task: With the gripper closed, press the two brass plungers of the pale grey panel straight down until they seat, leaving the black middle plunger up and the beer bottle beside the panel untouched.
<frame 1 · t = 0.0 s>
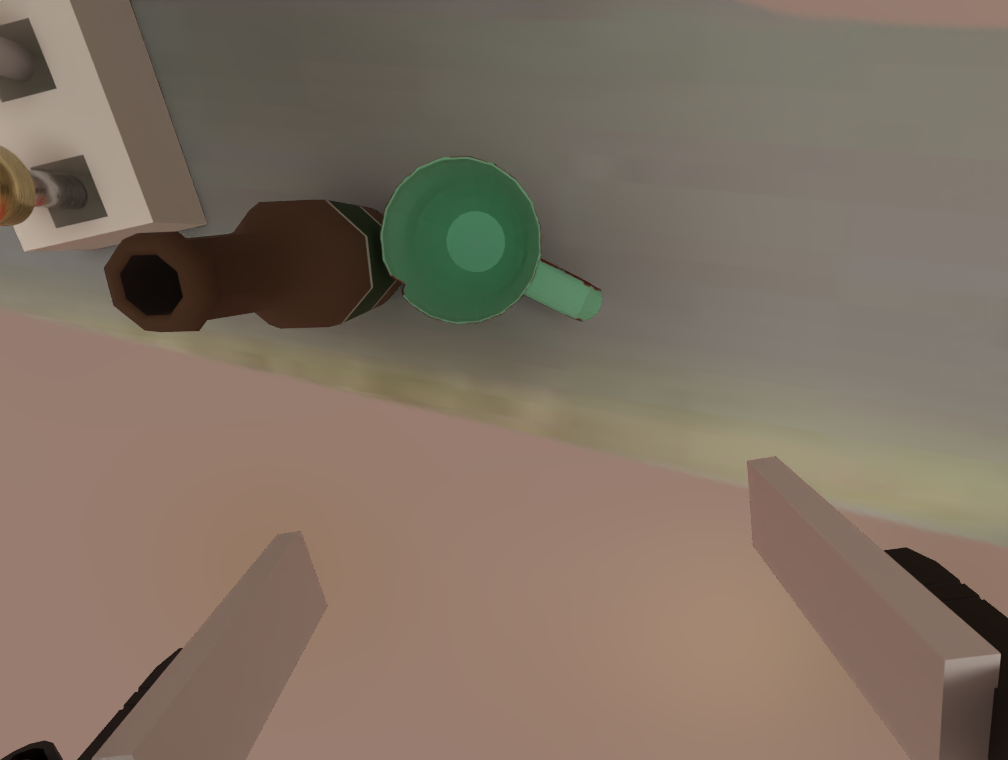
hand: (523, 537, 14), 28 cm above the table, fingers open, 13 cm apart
beer bottle: (366, 257, 40), on the table
panel: (94, 88, 37), on the table
mug: (503, 255, 39), on the table
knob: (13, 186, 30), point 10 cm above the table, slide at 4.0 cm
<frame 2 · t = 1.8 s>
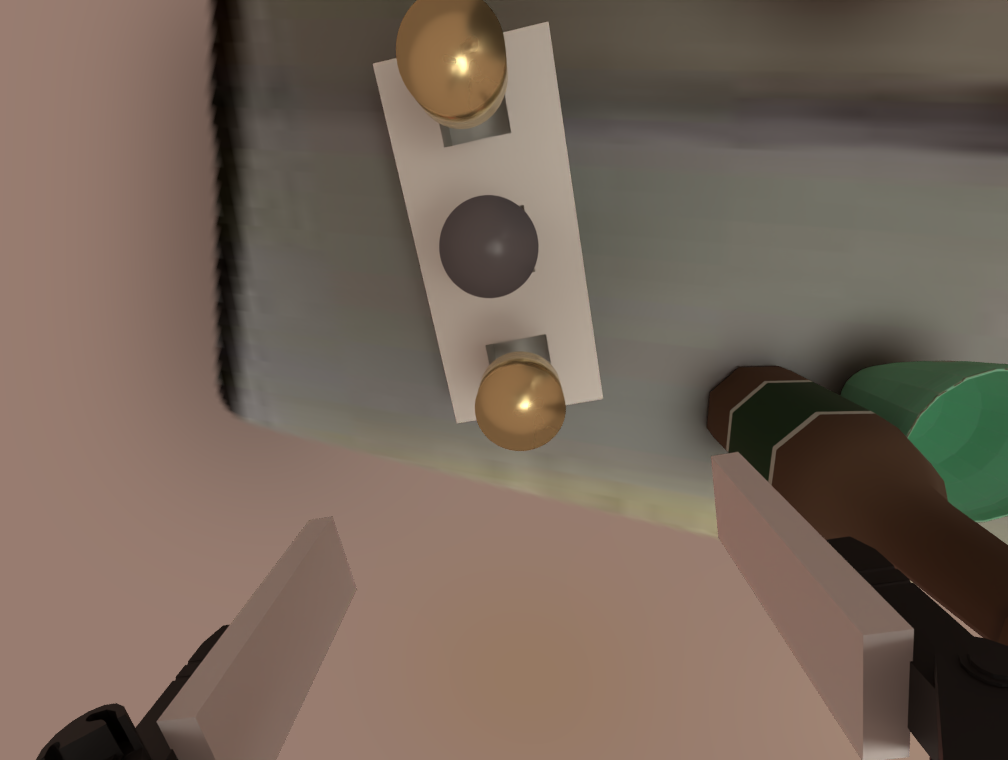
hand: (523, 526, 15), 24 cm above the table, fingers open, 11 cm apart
beer bottle: (750, 407, 39), on the table
panel: (501, 243, 36), on the table
mug: (896, 407, 38), on the table
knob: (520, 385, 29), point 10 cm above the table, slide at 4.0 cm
knob mid: (493, 246, 26), point 10 cm above the table, slide at 4.0 cm
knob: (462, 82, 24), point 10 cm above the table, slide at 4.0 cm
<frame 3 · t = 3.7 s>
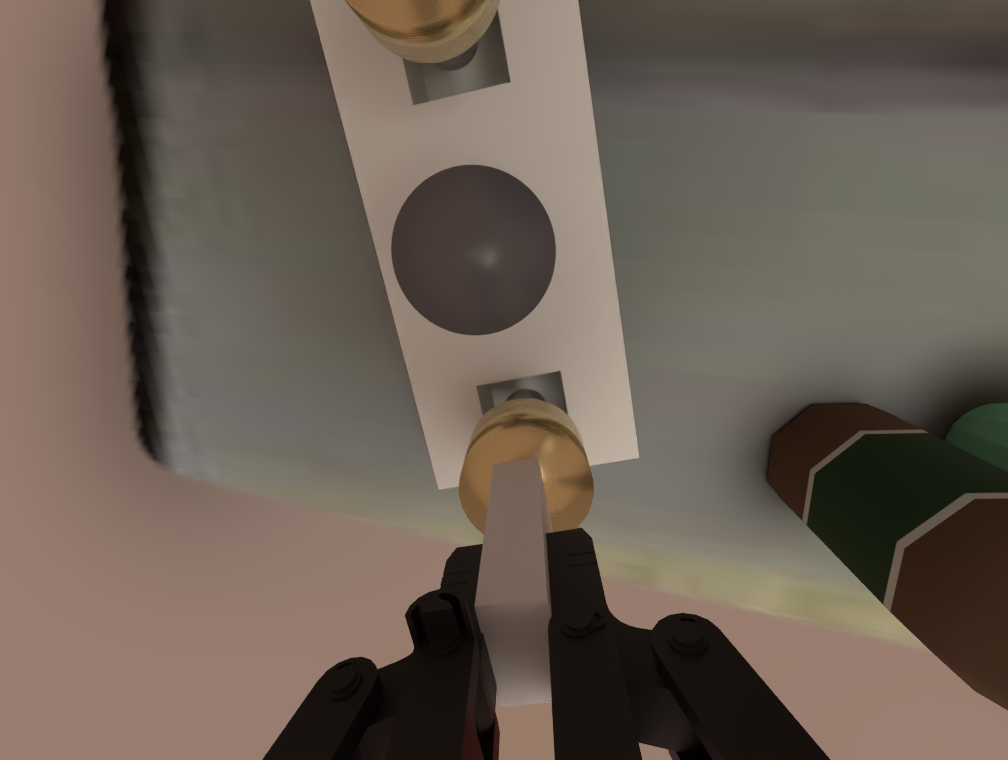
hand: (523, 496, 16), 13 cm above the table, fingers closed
beer bottle: (824, 455, 30), on the table
panel: (499, 244, 27), on the table
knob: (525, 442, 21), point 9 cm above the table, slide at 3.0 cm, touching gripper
knob mid: (484, 249, 17), point 10 cm above the table, slide at 4.0 cm
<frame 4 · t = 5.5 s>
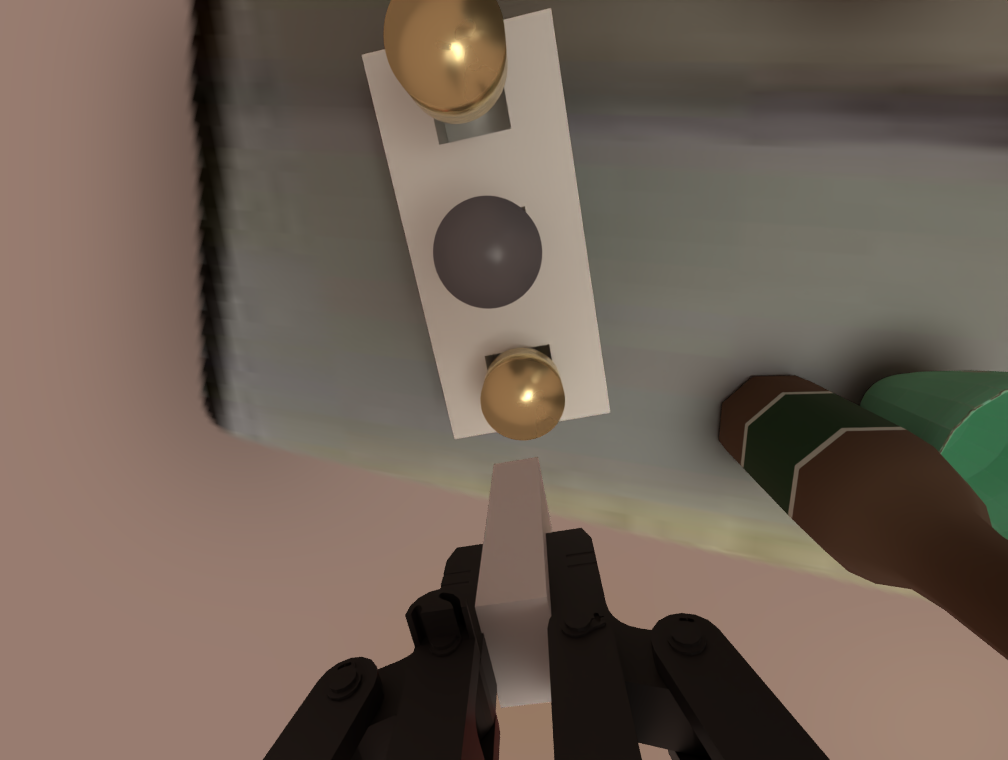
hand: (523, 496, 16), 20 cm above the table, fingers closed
beer bottle: (764, 418, 37), on the table
panel: (501, 247, 34), on the table
mug: (918, 418, 36), on the table
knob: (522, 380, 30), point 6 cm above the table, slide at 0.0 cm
knob mid: (493, 251, 24), point 10 cm above the table, slide at 4.0 cm
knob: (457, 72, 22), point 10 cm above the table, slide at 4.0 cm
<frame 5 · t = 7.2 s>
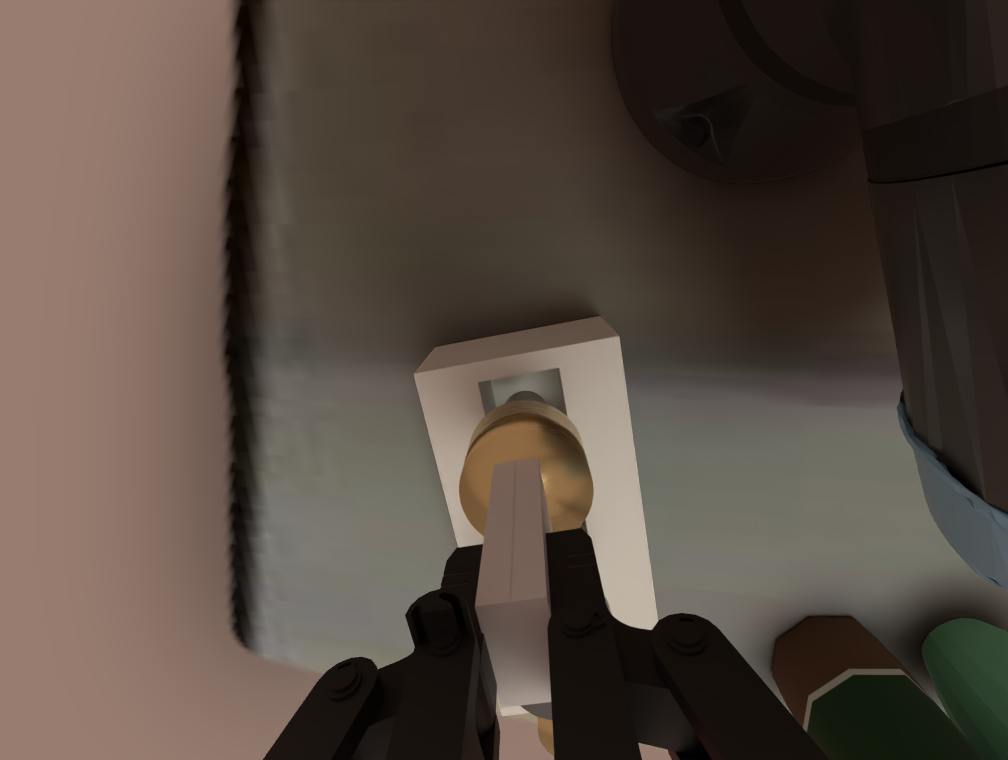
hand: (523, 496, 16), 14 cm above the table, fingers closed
beer bottle: (821, 653, 35), on the table
panel: (548, 494, 32), on the table
mug: (984, 656, 34), on the table
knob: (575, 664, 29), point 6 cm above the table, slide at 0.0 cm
knob mid: (557, 601, 23), point 10 cm above the table, slide at 4.0 cm
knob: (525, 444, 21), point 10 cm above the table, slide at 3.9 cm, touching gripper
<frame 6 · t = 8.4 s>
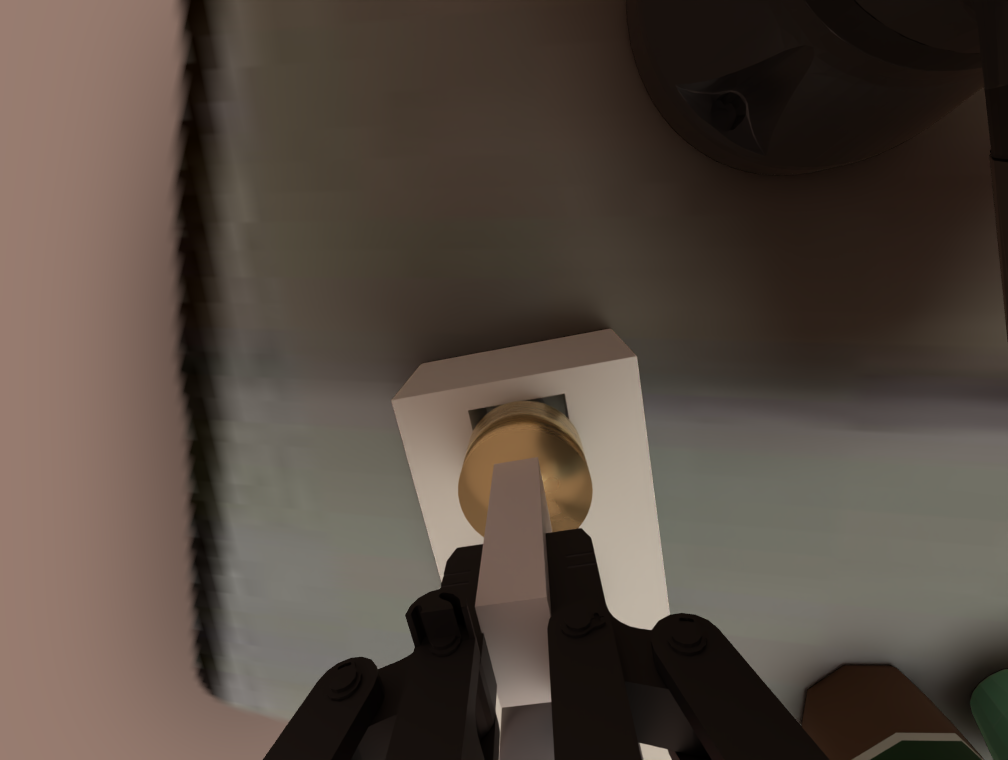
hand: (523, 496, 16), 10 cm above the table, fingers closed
beer bottle: (856, 704, 31), on the table
panel: (550, 529, 28), on the table
knob mid: (563, 675, 19), point 10 cm above the table, slide at 4.0 cm
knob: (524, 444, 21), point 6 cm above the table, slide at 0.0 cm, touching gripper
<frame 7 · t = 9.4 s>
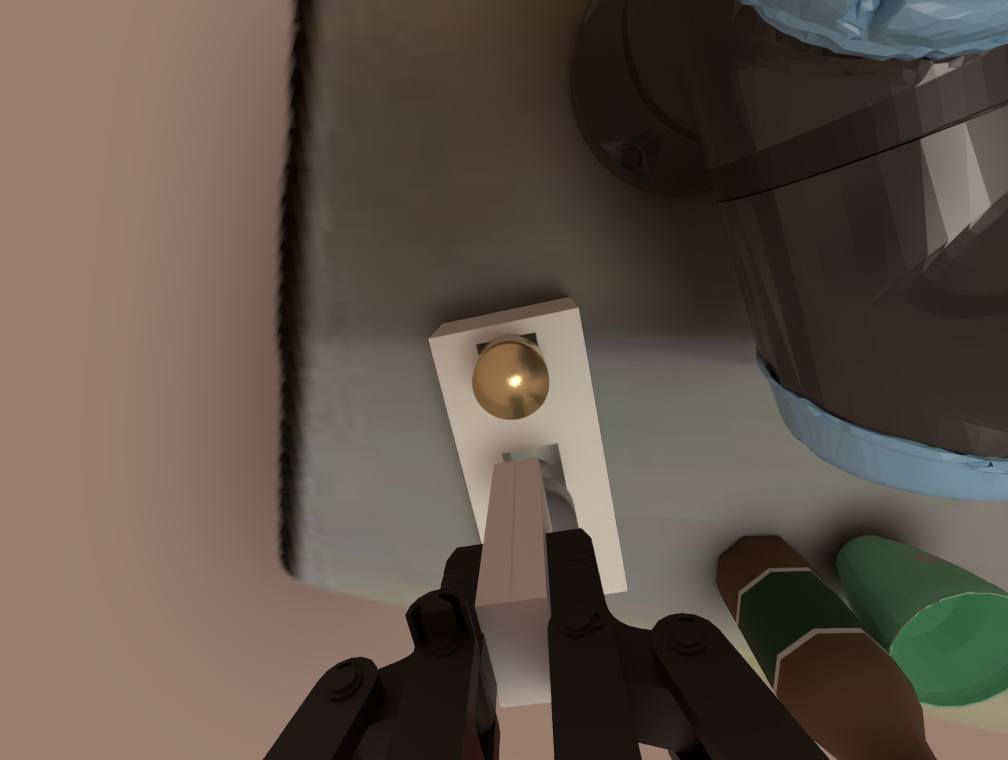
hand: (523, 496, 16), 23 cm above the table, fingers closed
beer bottle: (756, 568, 43), on the table
panel: (533, 440, 40), on the table
mug: (886, 567, 43), on the table
knob mid: (536, 501, 31), point 10 cm above the table, slide at 4.0 cm
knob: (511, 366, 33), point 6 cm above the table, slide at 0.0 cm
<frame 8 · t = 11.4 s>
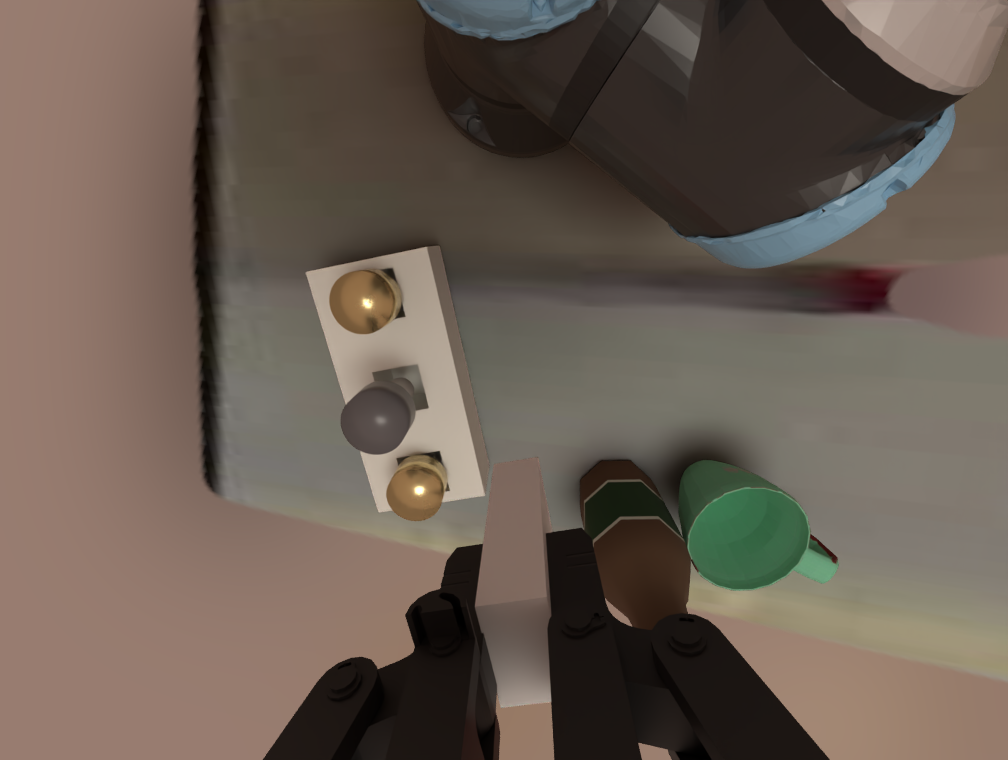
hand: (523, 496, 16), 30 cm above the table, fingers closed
beer bottle: (613, 489, 50), on the table
panel: (415, 371, 47), on the table
mug: (724, 490, 50), on the table
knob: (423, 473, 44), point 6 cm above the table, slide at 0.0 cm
knob mid: (388, 405, 38), point 10 cm above the table, slide at 4.0 cm
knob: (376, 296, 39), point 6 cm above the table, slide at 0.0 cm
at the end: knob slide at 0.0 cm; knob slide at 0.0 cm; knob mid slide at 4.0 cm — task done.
